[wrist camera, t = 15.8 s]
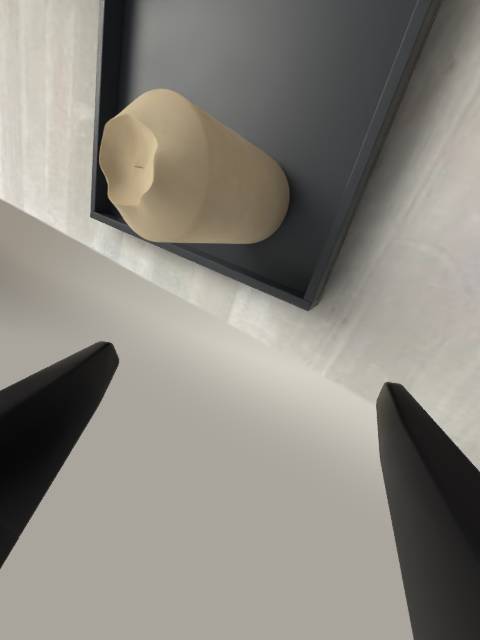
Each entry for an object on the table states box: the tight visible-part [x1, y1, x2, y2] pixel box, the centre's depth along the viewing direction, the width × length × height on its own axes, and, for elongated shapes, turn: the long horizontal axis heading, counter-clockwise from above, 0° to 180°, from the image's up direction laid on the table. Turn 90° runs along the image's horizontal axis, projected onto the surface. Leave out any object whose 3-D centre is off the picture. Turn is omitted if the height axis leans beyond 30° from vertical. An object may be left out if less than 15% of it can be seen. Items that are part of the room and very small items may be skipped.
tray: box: [90, 0, 442, 311], centre depth 18 cm, size 18×21×2 cm
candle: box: [99, 89, 290, 244], centre depth 14 cm, size 6×6×10 cm
